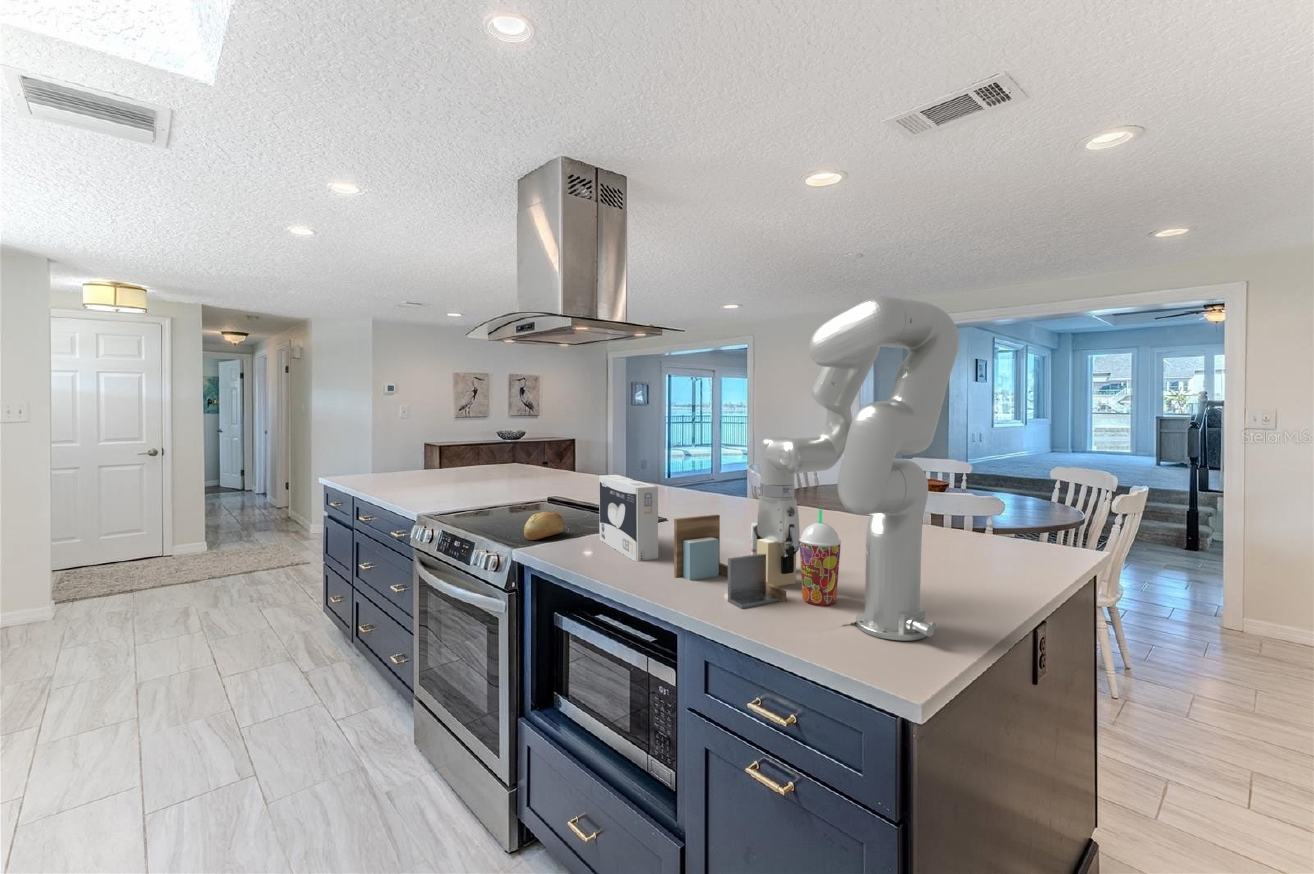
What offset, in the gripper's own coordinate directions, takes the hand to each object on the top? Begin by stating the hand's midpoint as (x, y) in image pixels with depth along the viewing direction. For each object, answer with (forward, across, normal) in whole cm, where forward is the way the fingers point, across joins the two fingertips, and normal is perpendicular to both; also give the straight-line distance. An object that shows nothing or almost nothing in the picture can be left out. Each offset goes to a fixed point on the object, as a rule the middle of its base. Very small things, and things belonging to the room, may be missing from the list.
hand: (776, 568), depth 135 cm
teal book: (+4, +12, +12) cm, 18 cm away
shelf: (+4, +2, +12) cm, 13 cm away
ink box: (+5, +12, -7) cm, 15 cm away
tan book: (+4, 0, 0) cm, 4 cm away
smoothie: (+4, -14, 0) cm, 15 cm away
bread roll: (+5, +75, +32) cm, 82 cm away
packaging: (+5, +48, +16) cm, 51 cm away
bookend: (+3, -8, +13) cm, 15 cm away
